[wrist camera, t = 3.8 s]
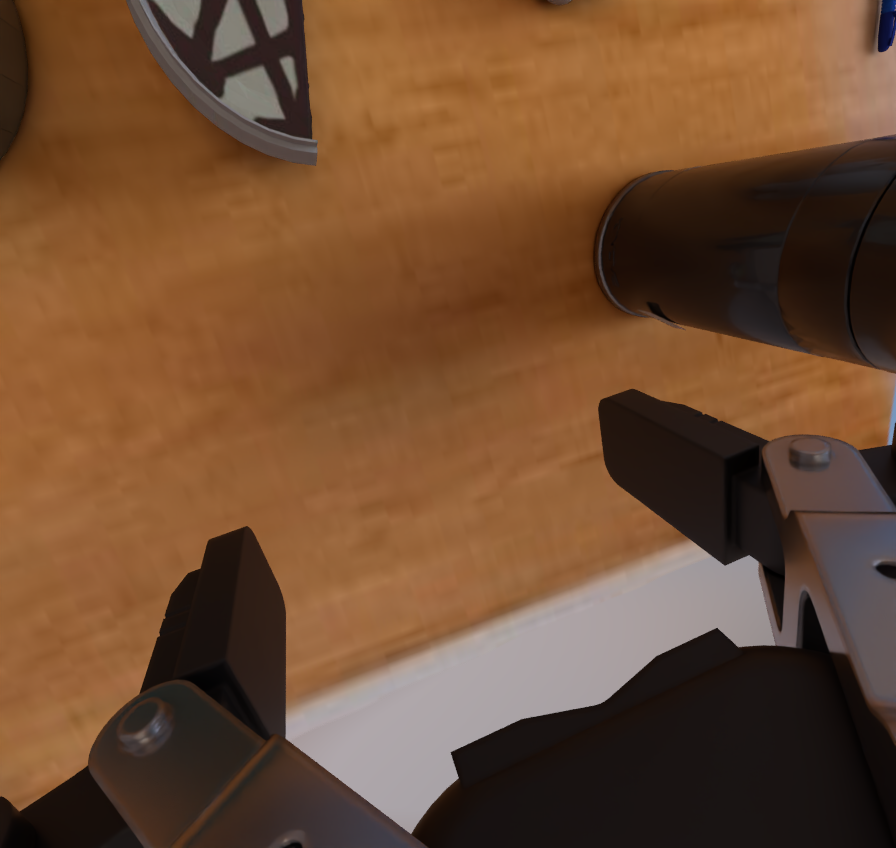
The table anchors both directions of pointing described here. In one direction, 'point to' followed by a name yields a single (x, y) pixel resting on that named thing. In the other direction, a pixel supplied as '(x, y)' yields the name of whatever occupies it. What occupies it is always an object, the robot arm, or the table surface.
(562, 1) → the round bodied animal figurine
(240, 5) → the food container
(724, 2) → the table surface
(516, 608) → the table surface
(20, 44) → the bowl
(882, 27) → the ballpoint pen
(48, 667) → the table surface
